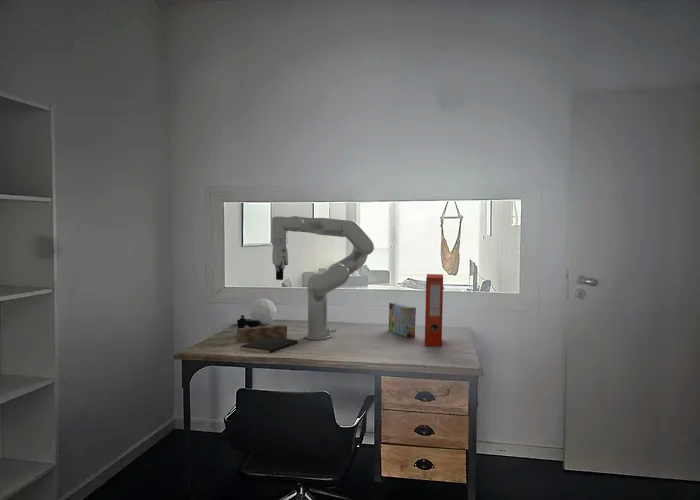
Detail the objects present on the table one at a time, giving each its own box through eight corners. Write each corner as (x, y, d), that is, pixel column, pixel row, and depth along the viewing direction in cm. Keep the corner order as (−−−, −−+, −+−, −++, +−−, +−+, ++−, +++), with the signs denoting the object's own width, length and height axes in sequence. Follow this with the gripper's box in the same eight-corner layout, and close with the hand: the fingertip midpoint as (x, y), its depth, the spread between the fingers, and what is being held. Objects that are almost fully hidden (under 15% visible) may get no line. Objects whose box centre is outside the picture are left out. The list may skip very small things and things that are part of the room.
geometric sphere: (269, 333, 323) (277, 314, 316) (243, 324, 321) (251, 305, 313) (274, 317, 335) (282, 298, 328) (249, 308, 333) (256, 289, 325)
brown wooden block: (283, 336, 292) (283, 324, 291) (286, 338, 288) (286, 325, 288) (237, 341, 280) (237, 328, 280) (239, 342, 277) (239, 330, 277)
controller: (239, 334, 297) (239, 314, 296) (262, 335, 294) (262, 315, 293) (235, 335, 292) (235, 316, 292) (258, 337, 289) (258, 317, 289)
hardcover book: (240, 351, 262) (240, 345, 262) (269, 341, 283) (269, 336, 283) (269, 355, 255) (269, 349, 255) (297, 344, 276) (297, 340, 276)
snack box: (416, 337, 292) (416, 307, 291) (406, 338, 290) (406, 307, 289) (397, 329, 312) (397, 301, 311) (387, 330, 310) (388, 301, 309)
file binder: (442, 339, 288) (443, 274, 286) (442, 346, 271) (443, 278, 269) (425, 338, 289) (426, 274, 287) (424, 346, 272) (425, 277, 270)
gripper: (292, 242, 278) (292, 281, 279) (281, 241, 291) (281, 277, 292) (277, 242, 275) (277, 281, 276) (266, 241, 288) (267, 278, 289)
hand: (279, 279), depth 284 cm, fingers closed
